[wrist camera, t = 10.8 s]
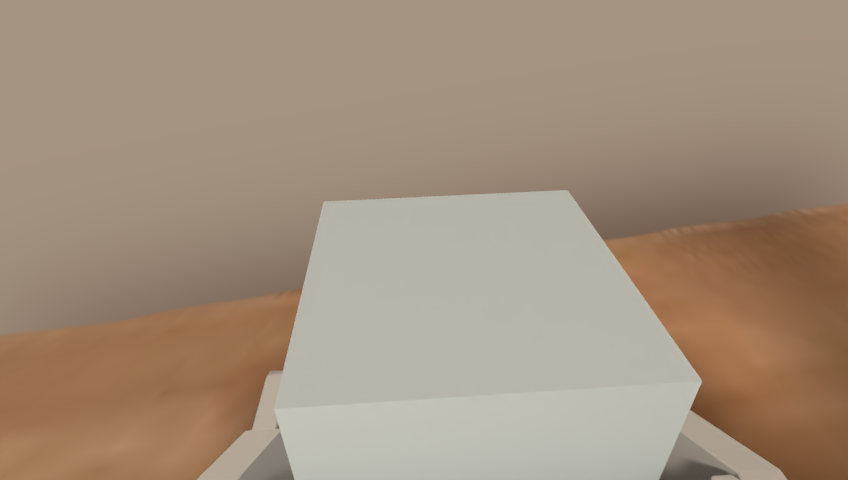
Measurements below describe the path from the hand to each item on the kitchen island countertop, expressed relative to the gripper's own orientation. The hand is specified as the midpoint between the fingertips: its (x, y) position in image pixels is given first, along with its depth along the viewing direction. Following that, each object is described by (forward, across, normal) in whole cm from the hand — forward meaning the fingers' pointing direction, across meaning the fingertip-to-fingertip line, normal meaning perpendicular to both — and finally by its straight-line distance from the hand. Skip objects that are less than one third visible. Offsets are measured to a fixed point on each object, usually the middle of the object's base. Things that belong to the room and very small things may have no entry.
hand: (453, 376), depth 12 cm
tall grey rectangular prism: (-1, 0, +5) cm, 5 cm away
